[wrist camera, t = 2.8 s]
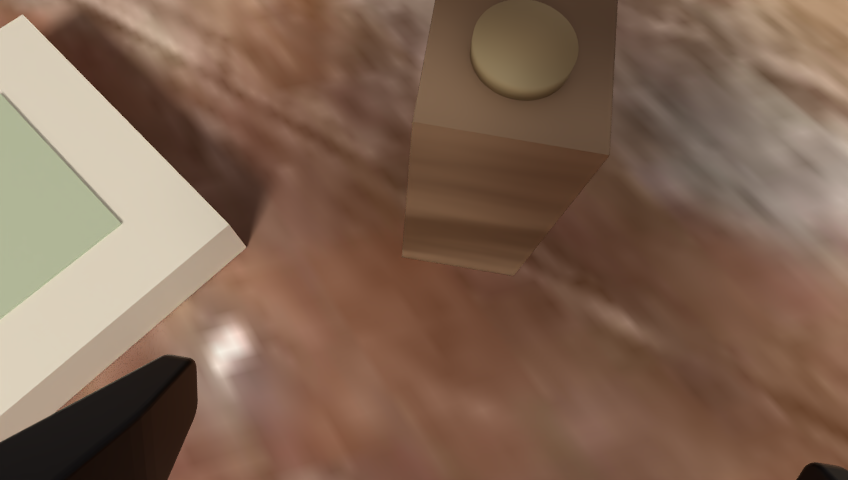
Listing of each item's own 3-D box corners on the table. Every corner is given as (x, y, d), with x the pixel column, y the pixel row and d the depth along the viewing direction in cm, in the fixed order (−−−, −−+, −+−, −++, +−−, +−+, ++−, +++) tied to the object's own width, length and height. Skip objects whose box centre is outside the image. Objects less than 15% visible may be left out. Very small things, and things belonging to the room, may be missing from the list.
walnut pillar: (513, 276, 22) (618, 144, 12) (401, 257, 22) (413, 109, 12) (524, 174, 23) (625, -18, 13) (419, 157, 23) (443, -49, 13)
